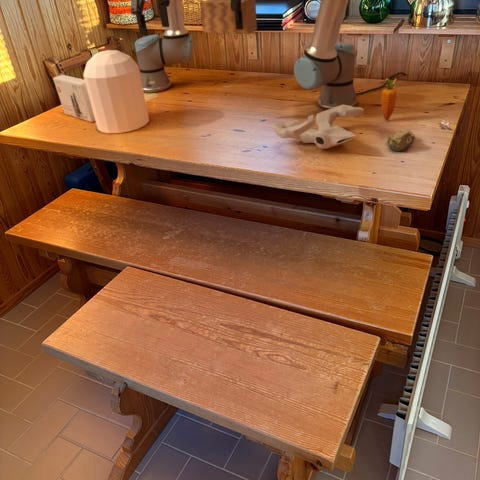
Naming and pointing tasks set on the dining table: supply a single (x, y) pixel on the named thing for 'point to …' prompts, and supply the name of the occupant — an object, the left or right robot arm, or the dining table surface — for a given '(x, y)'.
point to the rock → (400, 140)
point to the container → (115, 92)
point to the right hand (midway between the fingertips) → (244, 26)
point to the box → (227, 17)
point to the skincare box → (74, 97)
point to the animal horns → (320, 128)
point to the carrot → (388, 99)
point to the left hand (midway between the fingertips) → (155, 30)
